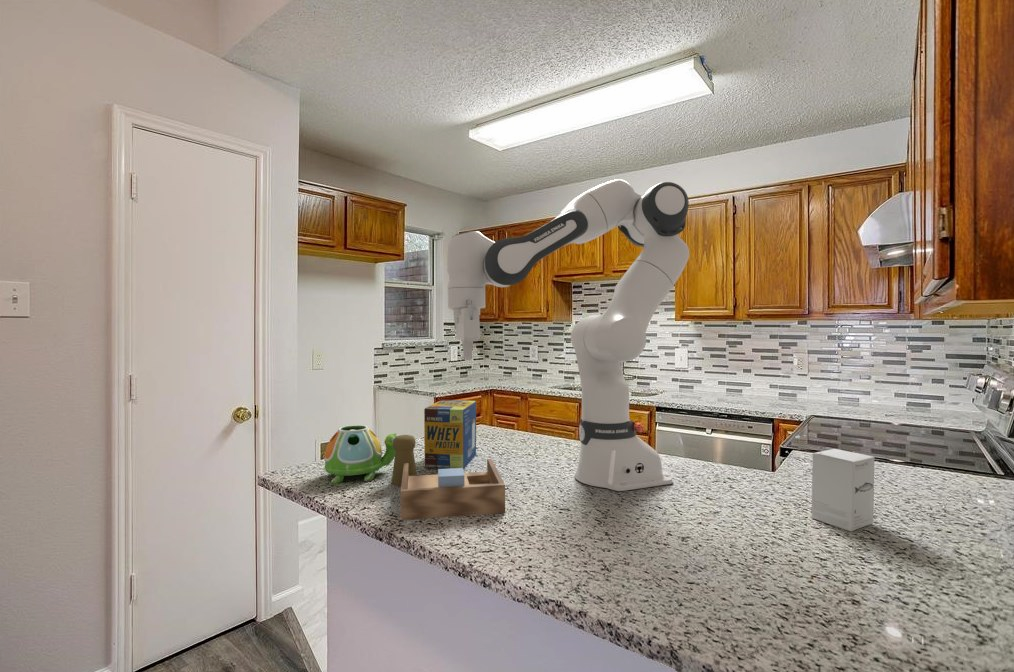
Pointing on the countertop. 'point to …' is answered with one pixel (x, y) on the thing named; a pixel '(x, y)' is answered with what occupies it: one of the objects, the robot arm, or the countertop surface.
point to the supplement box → (843, 488)
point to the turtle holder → (357, 453)
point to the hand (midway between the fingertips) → (467, 359)
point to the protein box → (450, 434)
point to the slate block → (450, 477)
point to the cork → (403, 457)
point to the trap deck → (452, 495)
